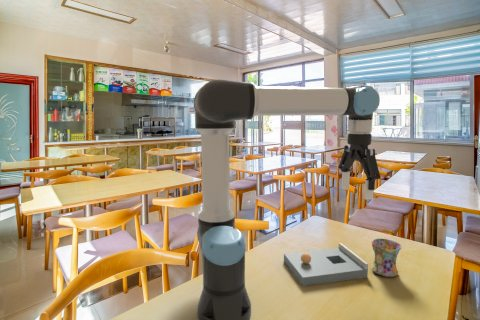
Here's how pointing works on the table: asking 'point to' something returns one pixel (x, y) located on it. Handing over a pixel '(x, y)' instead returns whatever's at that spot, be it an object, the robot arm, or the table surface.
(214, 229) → the robot arm
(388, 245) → the mug
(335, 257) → the board
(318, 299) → the table surface
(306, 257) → the ball
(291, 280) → the table surface
